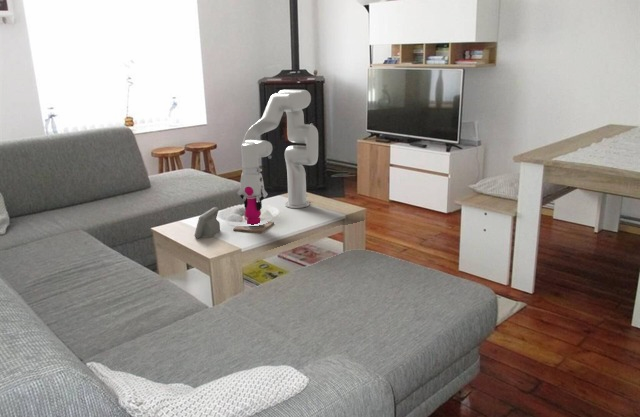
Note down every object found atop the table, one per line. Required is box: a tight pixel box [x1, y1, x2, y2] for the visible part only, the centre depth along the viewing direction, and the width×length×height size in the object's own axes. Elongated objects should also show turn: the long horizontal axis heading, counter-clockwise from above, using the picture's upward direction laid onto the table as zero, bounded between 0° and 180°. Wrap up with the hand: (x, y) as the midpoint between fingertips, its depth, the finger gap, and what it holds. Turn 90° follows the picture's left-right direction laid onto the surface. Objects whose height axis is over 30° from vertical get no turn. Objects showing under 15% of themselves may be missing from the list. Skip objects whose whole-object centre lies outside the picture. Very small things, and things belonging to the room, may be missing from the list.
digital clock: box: [193, 206, 221, 239], centre depth 239 cm, size 16×9×11 cm, turn 154°
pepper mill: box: [244, 187, 262, 225], centre depth 244 cm, size 7×7×20 cm
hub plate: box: [233, 221, 275, 234], centre depth 247 cm, size 14×14×1 cm
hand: (253, 208), depth 245 cm, fingers closed on pepper mill, 5 cm apart
